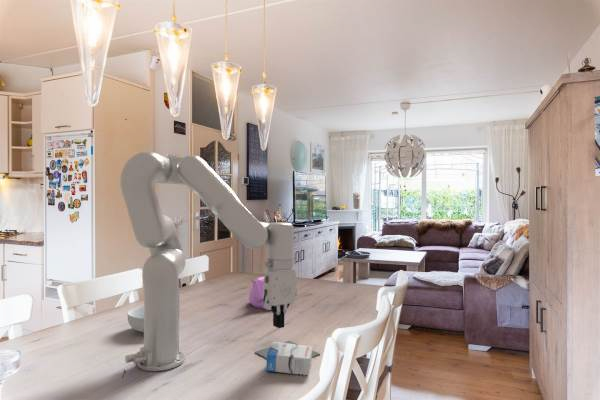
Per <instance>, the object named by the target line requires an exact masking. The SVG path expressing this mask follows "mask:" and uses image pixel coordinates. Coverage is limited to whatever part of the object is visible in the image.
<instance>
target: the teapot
mask: <svg viewBox="0 0 600 400" xmlns="http://www.w3.org/2000/svg"><path fill="white" fill-rule="evenodd" d="M250 282H252V286H251V288H250V291H249V294H248V302H250V304H251V306H253V307H255V308H258V309H264V308H263V307H264V302H263V282H264V276H259V277H258V278H256V280H254V279H253V280H252V279H250ZM270 305H271V304H270ZM275 307H276V306H275Z"/></svg>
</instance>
